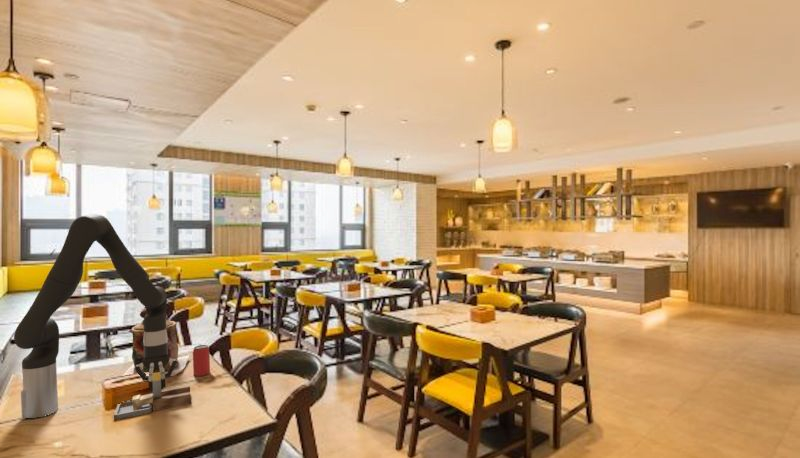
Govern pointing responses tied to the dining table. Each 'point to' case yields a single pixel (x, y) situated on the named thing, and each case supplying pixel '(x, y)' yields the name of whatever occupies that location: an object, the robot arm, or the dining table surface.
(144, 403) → the chip
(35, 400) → the robot arm
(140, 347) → the cookie jar
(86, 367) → the dining table surface
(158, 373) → the scraper
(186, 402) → the slot block
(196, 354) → the beer can
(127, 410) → the tray
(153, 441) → the dining table surface
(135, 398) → the chip
